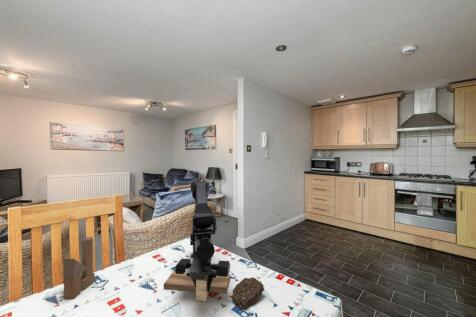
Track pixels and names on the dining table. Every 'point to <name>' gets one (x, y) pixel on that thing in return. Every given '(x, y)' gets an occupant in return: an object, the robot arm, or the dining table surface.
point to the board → (187, 284)
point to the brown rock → (247, 292)
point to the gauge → (202, 289)
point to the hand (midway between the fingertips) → (203, 291)
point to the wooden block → (79, 271)
